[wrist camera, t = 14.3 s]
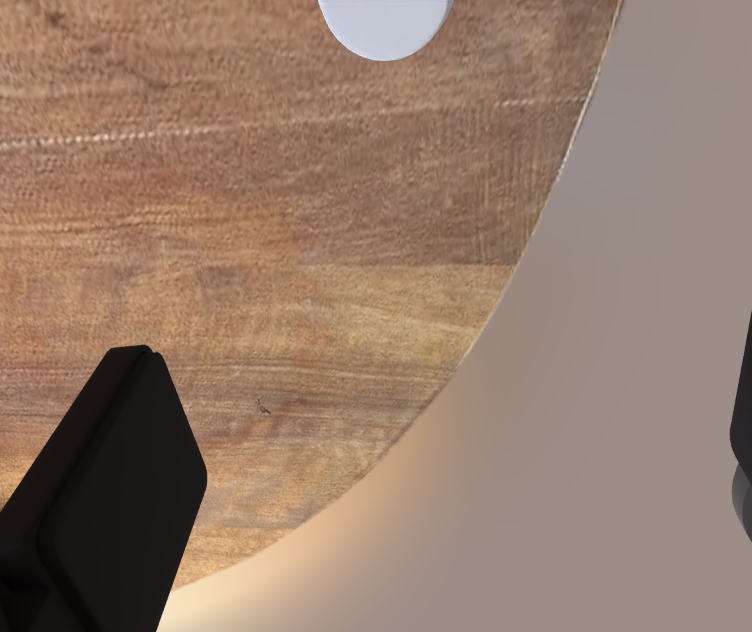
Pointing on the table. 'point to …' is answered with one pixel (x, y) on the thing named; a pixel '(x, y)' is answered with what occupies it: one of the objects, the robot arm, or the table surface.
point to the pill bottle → (385, 25)
